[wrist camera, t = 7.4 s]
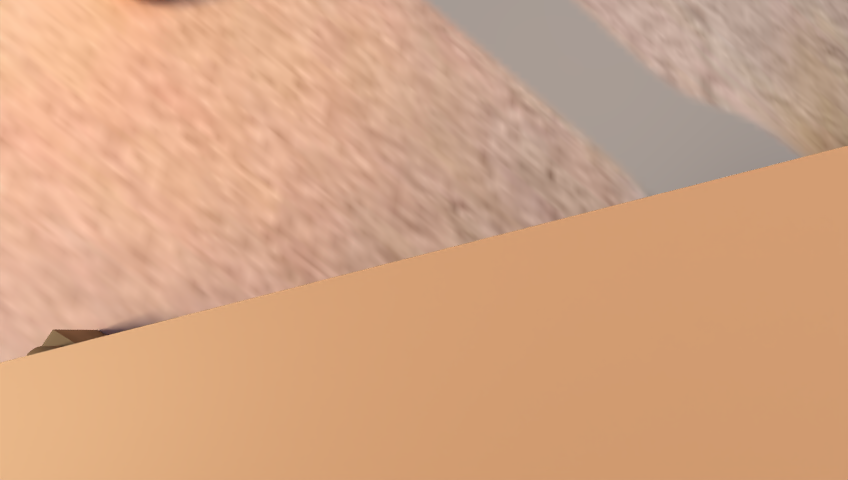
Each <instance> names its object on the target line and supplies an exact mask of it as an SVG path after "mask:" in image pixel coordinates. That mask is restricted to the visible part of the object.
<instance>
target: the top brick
mask: <svg viewBox="0 0 848 480" xmlns="http://www.w3.org/2000/svg"><path fill="white" fill-rule="evenodd" d="M0 480H848V146H845V147H841V148H837V149H833V150H829V151H825V152H821V153H817V154H814V155H810V156H806V157H802V158H798V159H794V160H790V161H787V162H783V163H778V164H775V165H771V166H767V167H763V168H759V169H755V170H752V171H747V172H743V173H739V174H736V175H732V176H728V177H724V178H720V179H716V180H712V181H708V182H704V183H700V184H696V185H693V186H689V187H685V188H681V189H677V190H673V191H669V192H665V193H661V194H657V195H653V196H650V197H646V198H642V199H638V200H634V201H630V202H626V203H622V204H618V205H614V206H611V207H607V208H603V209H599V210H595V211H591V212H587V213H583V214H579V215H575V216H571V217H568V218H564V219H560V220H556V221H552V222H548V223H544V224H540V225H536V226H532V227H529V228H525V229H521V230H517V231H513V232H509V233H505V234H501V235H497V236H493V237H489V238H486V239H482V240H478V241H474V242H470V243H466V244H462V245H458V246H454V247H450V248H447V249H443V250H439V251H435V252H431V253H427V254H423V255H419V256H415V257H411V258H407V259H404V260H400V261H396V262H392V263H388V264H384V265H380V266H376V267H372V268H368V269H365V270H361V271H357V272H353V273H349V274H345V275H341V276H337V277H333V278H329V279H325V280H322V281H318V282H314V283H310V284H306V285H302V286H298V287H294V288H290V289H286V290H283V291H279V292H275V293H271V294H267V295H263V296H259V297H255V298H251V299H247V300H243V301H240V302H236V303H232V304H228V305H224V306H220V307H216V308H212V309H208V310H204V311H201V312H197V313H193V314H189V315H185V316H181V317H177V318H173V319H169V320H165V321H161V322H158V323H154V324H150V325H146V326H142V327H138V328H134V329H130V330H126V331H122V332H119V333H115V334H111V335H107V336H103V337H99V338H95V339H91V340H87V341H83V342H79V343H76V344H72V345H68V346H64V347H60V348H56V349H52V350H48V351H44V352H40V353H37V354H33V355H29V356H25V357H21V358H17V359H13V360H9V361H5V362H1V363H0Z"/></svg>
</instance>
